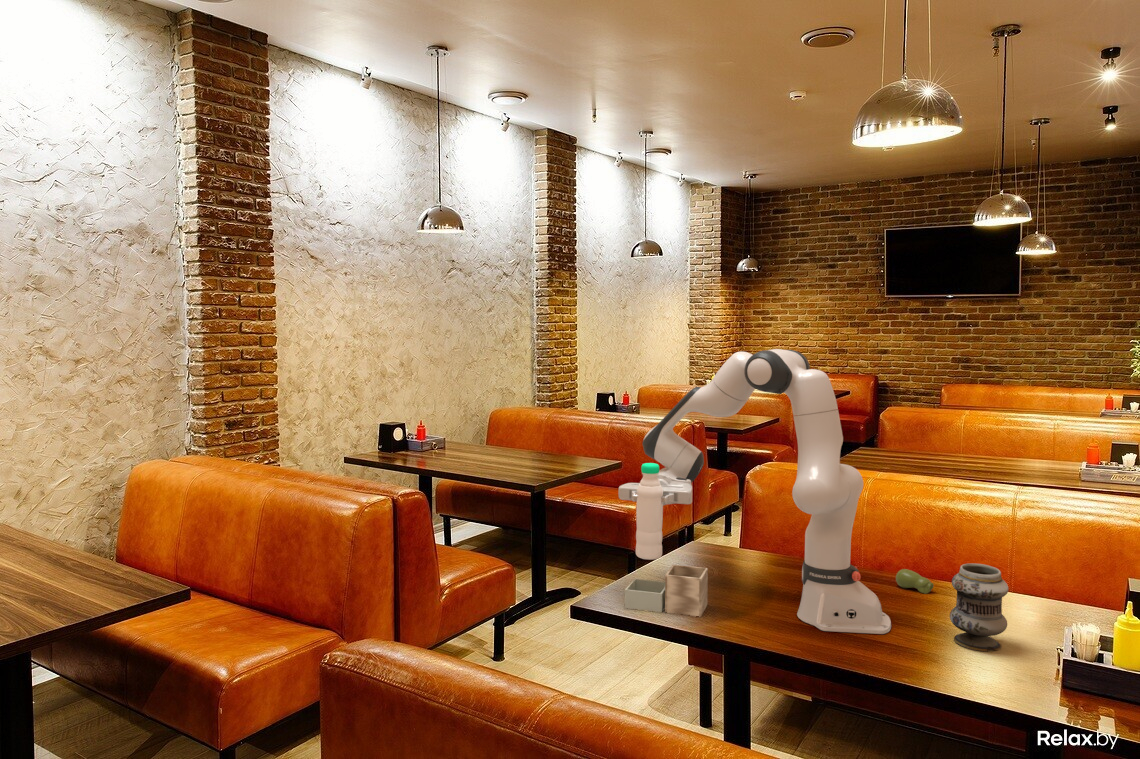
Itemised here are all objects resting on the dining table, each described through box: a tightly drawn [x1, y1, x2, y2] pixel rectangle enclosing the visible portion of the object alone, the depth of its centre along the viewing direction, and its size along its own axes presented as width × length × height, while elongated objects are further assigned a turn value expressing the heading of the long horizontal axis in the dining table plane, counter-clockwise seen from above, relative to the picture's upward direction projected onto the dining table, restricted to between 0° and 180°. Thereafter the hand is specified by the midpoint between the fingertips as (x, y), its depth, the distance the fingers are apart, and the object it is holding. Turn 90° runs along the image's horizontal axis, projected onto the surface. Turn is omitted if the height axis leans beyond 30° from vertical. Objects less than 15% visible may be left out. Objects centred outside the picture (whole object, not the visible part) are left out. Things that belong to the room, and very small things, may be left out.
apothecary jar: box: [949, 562, 1009, 652], centre depth 186 cm, size 12×12×18 cm
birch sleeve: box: [664, 564, 708, 618], centre depth 209 cm, size 9×9×10 cm
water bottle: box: [635, 462, 664, 561], centre depth 211 cm, size 7×7×25 cm
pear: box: [895, 568, 934, 595], centre depth 224 cm, size 6×5×10 cm
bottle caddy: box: [624, 577, 665, 613], centre depth 213 cm, size 10×10×5 cm
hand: (649, 499), depth 210 cm, fingers closed on water bottle, 6 cm apart
